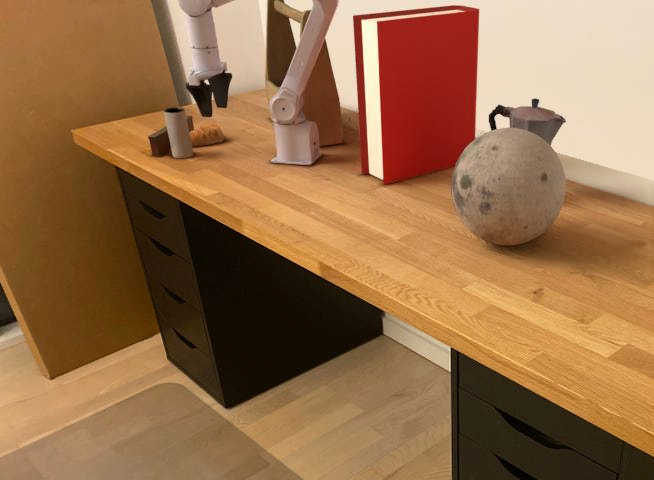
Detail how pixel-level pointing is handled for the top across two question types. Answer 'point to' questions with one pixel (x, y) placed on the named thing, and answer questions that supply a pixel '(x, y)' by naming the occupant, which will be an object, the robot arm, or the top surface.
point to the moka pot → (530, 119)
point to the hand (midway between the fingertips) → (214, 112)
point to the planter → (178, 132)
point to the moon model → (508, 186)
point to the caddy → (321, 83)
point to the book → (415, 89)
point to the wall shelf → (164, 139)
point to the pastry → (206, 135)
